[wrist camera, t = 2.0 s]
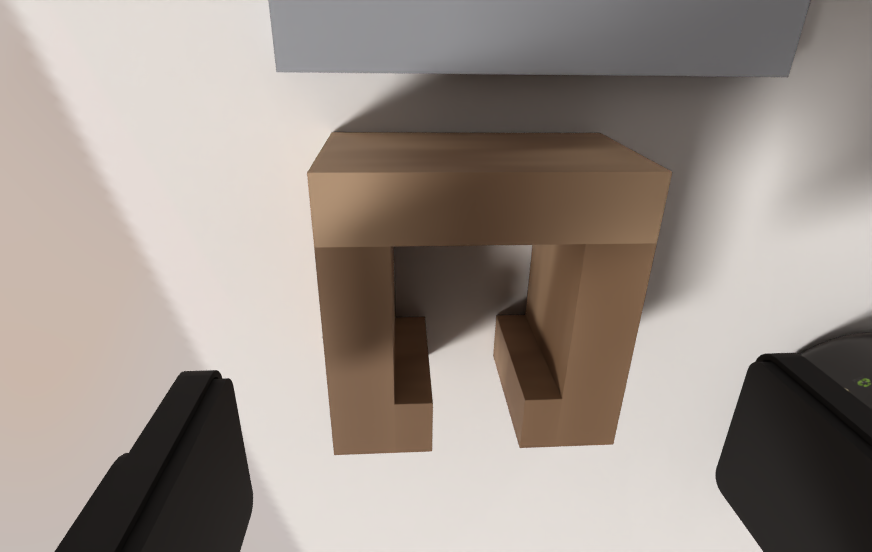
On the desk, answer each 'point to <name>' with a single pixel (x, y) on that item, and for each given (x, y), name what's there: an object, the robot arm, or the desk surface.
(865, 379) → the supplement bottle
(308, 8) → the post base
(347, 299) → the wooden arch block
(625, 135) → the desk surface
